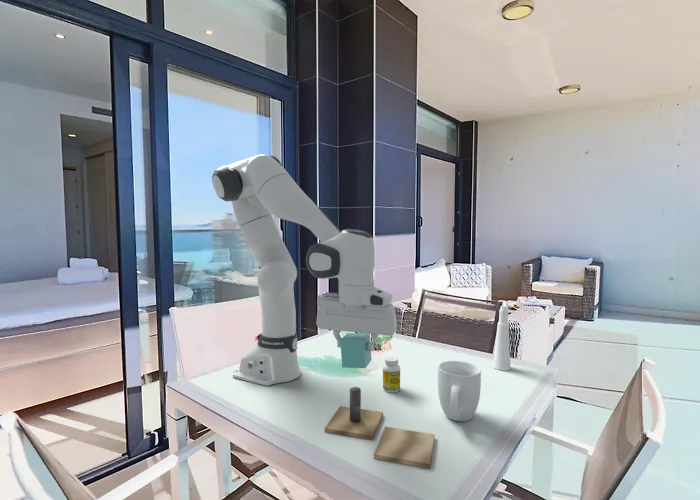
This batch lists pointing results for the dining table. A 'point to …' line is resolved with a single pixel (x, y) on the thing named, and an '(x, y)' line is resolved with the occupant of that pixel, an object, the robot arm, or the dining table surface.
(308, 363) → the dining table surface
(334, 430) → the post stand
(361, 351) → the teal rectangular block
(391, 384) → the supplement bottle
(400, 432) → the oak pad
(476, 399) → the mug
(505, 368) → the cosmetic bottle
